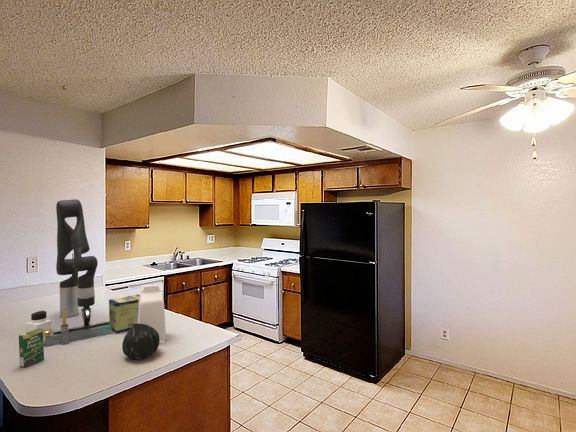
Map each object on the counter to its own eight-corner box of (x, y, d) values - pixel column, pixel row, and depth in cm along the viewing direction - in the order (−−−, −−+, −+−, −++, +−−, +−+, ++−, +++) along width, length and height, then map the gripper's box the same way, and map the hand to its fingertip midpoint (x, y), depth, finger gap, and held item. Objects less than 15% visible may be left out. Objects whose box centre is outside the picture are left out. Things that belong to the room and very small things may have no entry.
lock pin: (62, 328, 164) (61, 309, 164) (66, 327, 165) (66, 308, 165) (62, 329, 163) (61, 310, 162) (66, 328, 164) (66, 309, 163)
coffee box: (23, 368, 133) (22, 335, 132) (18, 367, 134) (18, 334, 133) (44, 359, 140) (44, 328, 140) (40, 358, 141) (39, 327, 141)
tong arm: (53, 339, 160) (52, 331, 160) (109, 328, 175) (109, 321, 175) (53, 341, 159) (53, 332, 159) (110, 330, 173) (109, 322, 173)
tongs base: (41, 340, 160) (40, 328, 160) (108, 328, 177) (108, 316, 177) (40, 349, 151) (40, 335, 150) (112, 335, 167) (112, 322, 167)
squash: (170, 335, 152) (147, 311, 151) (158, 351, 137) (133, 324, 136) (147, 356, 152) (124, 332, 151) (133, 374, 138) (107, 347, 137)
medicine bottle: (51, 334, 169) (51, 310, 168) (36, 339, 162) (36, 314, 162) (41, 332, 171) (41, 308, 171) (26, 337, 164) (26, 313, 164)
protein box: (108, 329, 176) (108, 299, 176) (138, 321, 187) (138, 293, 187) (116, 334, 169) (116, 303, 168) (147, 326, 180) (146, 297, 180)
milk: (138, 346, 154) (138, 289, 154) (137, 337, 165) (136, 284, 164) (166, 341, 160) (165, 286, 159) (163, 333, 170) (162, 282, 169)
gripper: (76, 294, 173) (76, 327, 174) (78, 300, 162) (79, 335, 163) (93, 292, 178) (93, 324, 178) (96, 297, 167) (96, 332, 167)
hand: (86, 329), depth 171 cm, fingers closed
